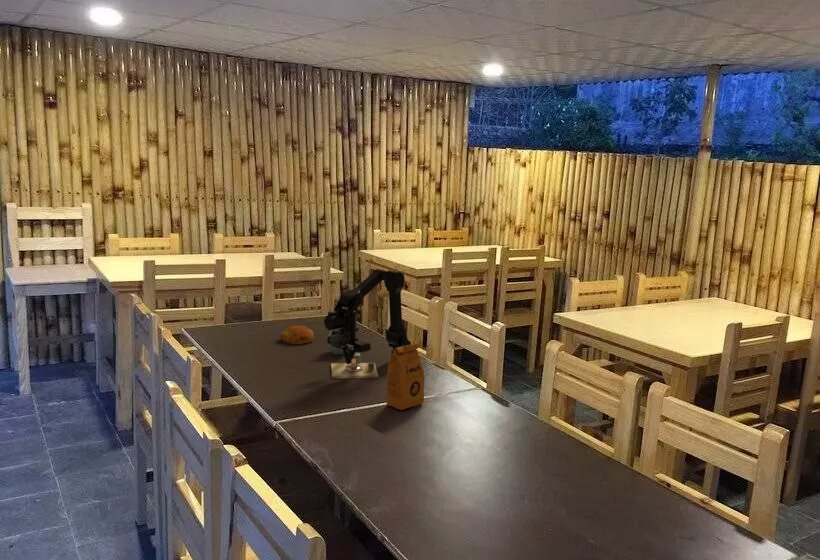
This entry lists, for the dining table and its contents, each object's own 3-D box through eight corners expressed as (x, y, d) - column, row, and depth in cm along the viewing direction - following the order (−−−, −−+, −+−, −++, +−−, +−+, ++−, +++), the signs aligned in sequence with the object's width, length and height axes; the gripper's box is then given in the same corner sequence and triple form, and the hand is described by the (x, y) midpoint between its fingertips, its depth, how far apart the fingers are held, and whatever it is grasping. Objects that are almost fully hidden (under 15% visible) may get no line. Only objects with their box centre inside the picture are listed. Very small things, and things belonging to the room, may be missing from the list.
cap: (348, 359, 268) (348, 351, 267) (360, 359, 268) (360, 352, 267) (347, 368, 256) (347, 360, 256) (359, 368, 257) (359, 360, 256)
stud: (362, 366, 270) (362, 359, 269) (363, 371, 263) (363, 364, 262) (345, 366, 269) (345, 359, 268) (345, 372, 262) (345, 364, 261)
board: (374, 365, 275) (374, 362, 275) (378, 377, 260) (378, 375, 259) (331, 365, 273) (331, 363, 272) (332, 378, 257) (332, 376, 257)
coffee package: (428, 405, 232) (430, 345, 228) (400, 413, 224) (402, 351, 220) (409, 397, 239) (411, 339, 235) (382, 405, 231) (384, 344, 227)
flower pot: (348, 356, 286) (348, 336, 285) (328, 355, 286) (328, 335, 285) (350, 350, 295) (350, 331, 293) (331, 349, 295) (331, 330, 293)
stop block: (369, 369, 266) (369, 362, 266) (374, 369, 266) (374, 362, 265) (368, 370, 264) (368, 363, 264) (373, 371, 264) (373, 364, 263)
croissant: (279, 342, 312) (276, 326, 310) (311, 335, 318) (308, 319, 316) (286, 350, 299) (283, 333, 297) (319, 342, 305) (316, 326, 303)
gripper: (317, 324, 256) (316, 363, 259) (351, 334, 244) (350, 374, 247) (337, 320, 264) (337, 357, 267) (372, 329, 253) (371, 367, 256)
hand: (348, 364), depth 259 cm, fingers closed
